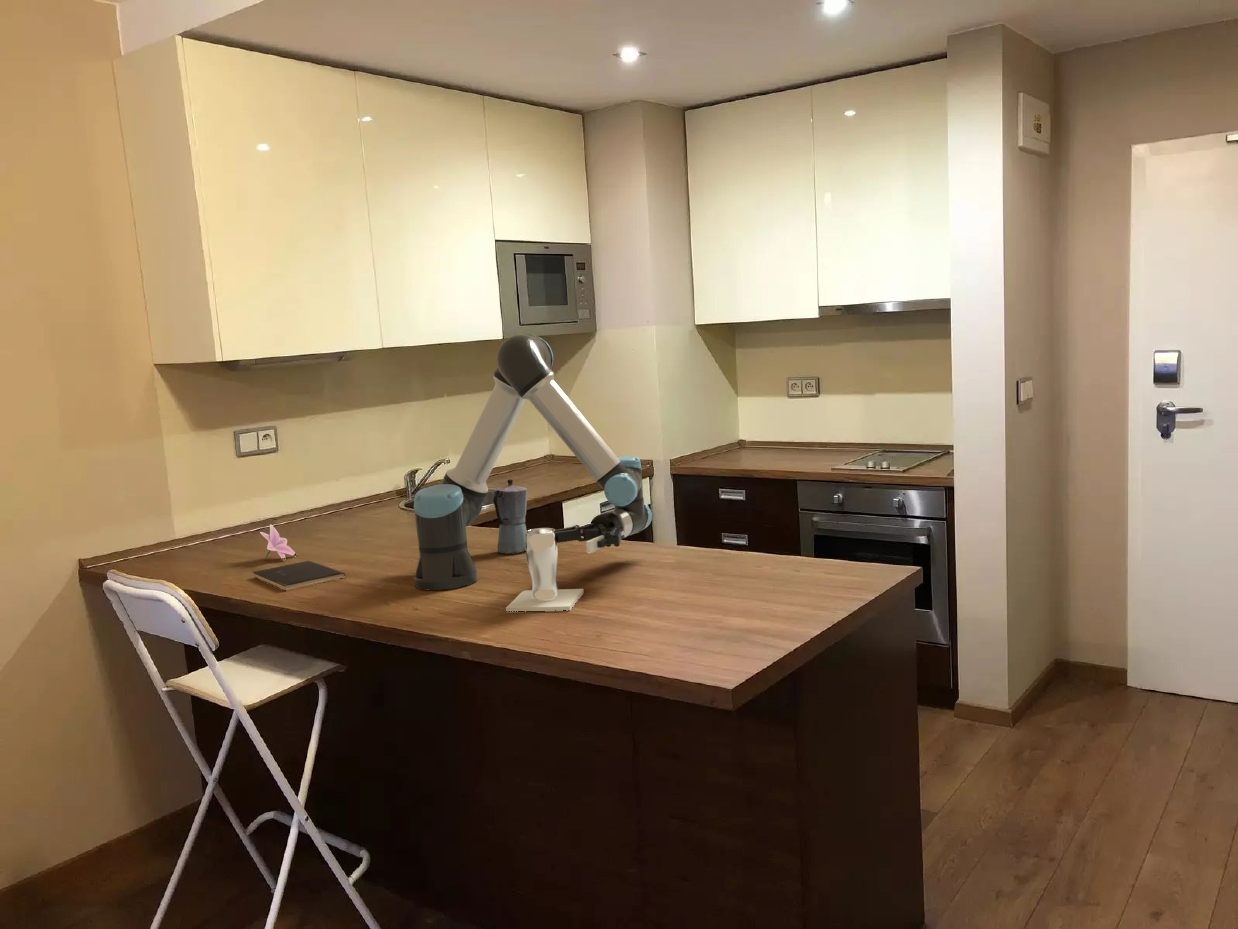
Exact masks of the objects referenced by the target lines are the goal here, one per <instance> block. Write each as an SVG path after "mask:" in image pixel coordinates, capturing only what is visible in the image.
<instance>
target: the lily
mask: <svg viewBox="0 0 1238 929" xmlns="http://www.w3.org/2000/svg"><path fill="white" fill-rule="evenodd" d="M259 534H261V536H263V538H265V539H266V540H267V542H268V543H267V545H266V546H267V547H266V549H267V550H268V552H267V554H266V556H265V558H266V559H267V558H268V556H269V554H270V553H271V551H272V552H277V554H278V555H279V556H280V558H281V559H282V558H285V559H286V554H287V555H290V556H293V555H294V554H295V553H296V552H295V551H294V550H293V548H292V547H290V546H289V545H287V544H288V539H287V538H285V537H280V536H281V535H280V533H279V532H278V531H277V528H275V527H274V525H272V524H271V523H270V524H269V534H268V533H265V532H263V531H260V532H259Z"/></svg>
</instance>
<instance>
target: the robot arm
mask: <svg viewBox="0 0 1238 929" xmlns="http://www.w3.org/2000/svg"><path fill="white" fill-rule="evenodd" d="M553 363H554V353H553V351H552V348H551V347H550V345H549V343H548V342H547V341H545V340H544V339H543V338H541V337H540V336H538V335H535V334H532V333H531V334H530V333H525V334H516V335H512V336H510V337H508V338H506V339H505V340H503V341H502V342H501V344H500V345H499V348H498V350H497V352H496V365H497V366H496V368H495V371H494V373H493V375H492V377H493V380H494V384H495V385H494V387H493V389H492V391H491V392H490V395H489V397H488V400H486V403H485V405H484V408H483V410H482V411H481V414H480V416H479V418H478V420H477V421H476V424H475V426H474V428H473V430H472V432H471V435H470V436H469V439H468V440H467V443H466V445H465V447H464V448H463V451H462V453H461V455H460V457H459V459H458V461H457V463H456V465H455V467H453V468H451V469H447V470H446V473H445V474H444V476H443V478H442V480H441V483H440V484H435V485H431V486H430V485H429V486H428V487H423V488H421V489H420V490H418V491H417V492H416V493H415V494H414V497H413V498H414V499H413V500H414V501H413V510H414V516H415V517H414V518H415V525H416V535H417V544H418V554H419V555H418V561H417V565H416V570H415V573H414V586H416V587H417V588H416V587H415V588H416V589H418V588H420V589H419V590H422V589H429V590H428V591H443V590H442V589H447V590H453V589H459V588H463V587H466V586H465V585H467V586H469V585H472V584H474V583H476V582H477V581H478V580H477V579H478V578H479V576H478V570H477V568H476V565H475V563H474V560H473V558H472V556H471V553H470V552H469V549H468V548H469V547H468V541H467V540H468V539H467V530H466V528H467V527H468V526H470V525H472V524H473V523H474V522H475V521H476V520H477V519H478V518H479V516H480V514H481V512H482V509H483V505H484V504H483V502H484V500H485V498H486V496H487V494H488V492H489V488H488V485H487V481H488V478H489V477H490V474H491V473H492V471H493V468H494V466H495V464H496V462H497V460H498V458H499V456H500V454H501V452H502V450H503V448H504V447H505V443H506V442H507V440H508V438H509V435H510V434H511V432H512V430H513V428H514V426H515V424H516V422H517V420H518V417H519V416H520V413H521V411H522V409H523V407H525V406H524V405H525V403H526V401H527V400H528V401H529V402H530V403H531V404H532V405H533V407H534V408H535V409H536V410H537V411H538V412H539V413H540V416H542V417H543V419H544V420H545V421H546V422H547V423H548V425H549V426H550V427H551V428H552V429H553V431H554V432H555V433H556V434H557V435H558V437H559V438H560V439H561V440H562V441H563V443H564V444H565V445H566V447H567V448H568V449H569V450H570V452H572V453H573V455H574V456H575V458H577V460H578V462H580V463H581V464H582V466H583V467H584V468H585V469H586V470H587V472H588V473H589V474H590V475H591V476H592V478H593V479H594V480H595V481H596V482H597V484H598V486H600V488H601V489H602V490H603V492H604V496H605V498H606V500H607V501H608V502H609V503H610V504H611V505H613V506H614V508H613V509H610V510H608V511H606V512H603V513H601V514H597V515H595V517H593V518H592V520H591V522H590V523H589V524H586V525H582V526H580V525H578V524H574V525H573V526H568V527H565V528H564V527H563V528H559V529H555V535H556V541H557V544H559V543H565V542H566V543H567V542H574V541H577V542H585V544H586V554H592V553H595V552H598V551H599V550H602V549H603V548H605V547H608V548H609V547H612V545H613V546H614V547H617V548H618V547H620V546H621V543H622V542H621V541H622V539H625V538H627V537H630V536H632V535H634V534H639V533H640V532H642V531H643V530H645V529H646V528H648V527H649V525H650V524H651V522H652V519H653V513H652V512H653V511H651V508H650V507H649V505H648V504H647V503H646V502H645V500H644V489H643V475H642V472H643V469H642V464H641V459H640V458H639V457H638V456H632V455H631V456H621V457H618V456H617V455H616V454H615V453H614V452H613V450H612V448H610V446H609V445H608V444H607V443H606V441H605V440H604V439H603V438H602V437H601V435H600V434H599V433H598V432H597V431H596V429H595V428H594V427H593V426H592V424H591V423H590V422H589V421H588V419H587V418H586V417H585V416H584V414H582V412H581V411H580V410H579V409H578V408H577V406H576V404H574V403H573V401H572V400H571V399H570V398H569V396H568V395H567V394H566V393H565V392H564V390H563V389H562V388H561V387H560V385H559V384H558V383H557V382H556V380H555V373H554V371H553V370H552V367H553ZM582 537H583V538H582ZM462 586H463V587H462ZM439 589H441V590H439Z"/></svg>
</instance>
